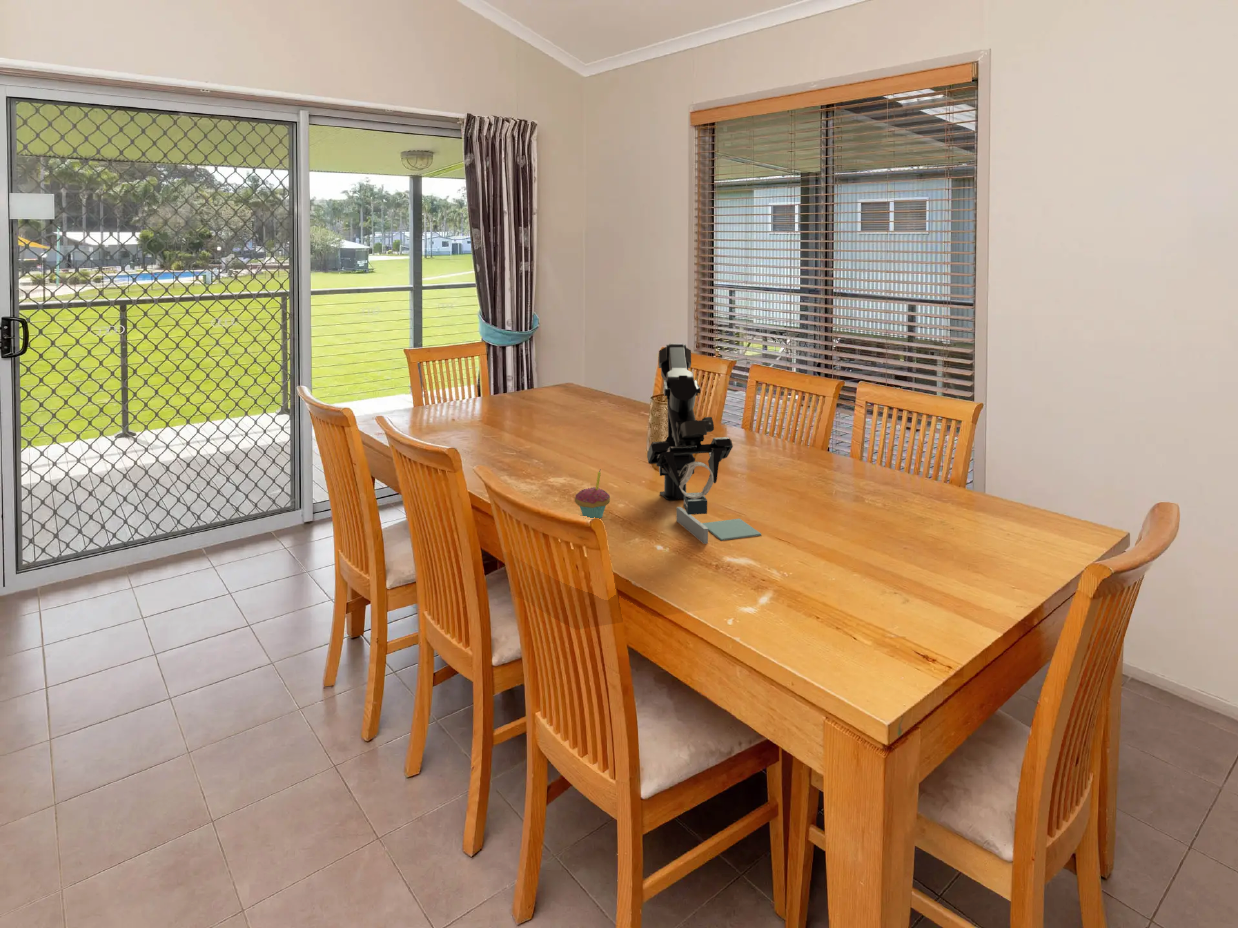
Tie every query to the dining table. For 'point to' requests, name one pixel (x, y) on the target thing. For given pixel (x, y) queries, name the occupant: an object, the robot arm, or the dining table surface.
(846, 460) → the dining table surface
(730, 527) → the mat
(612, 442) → the dining table surface
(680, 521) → the acrylic wall
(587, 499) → the cupcake
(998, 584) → the dining table surface
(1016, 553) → the dining table surface
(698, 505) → the watch
